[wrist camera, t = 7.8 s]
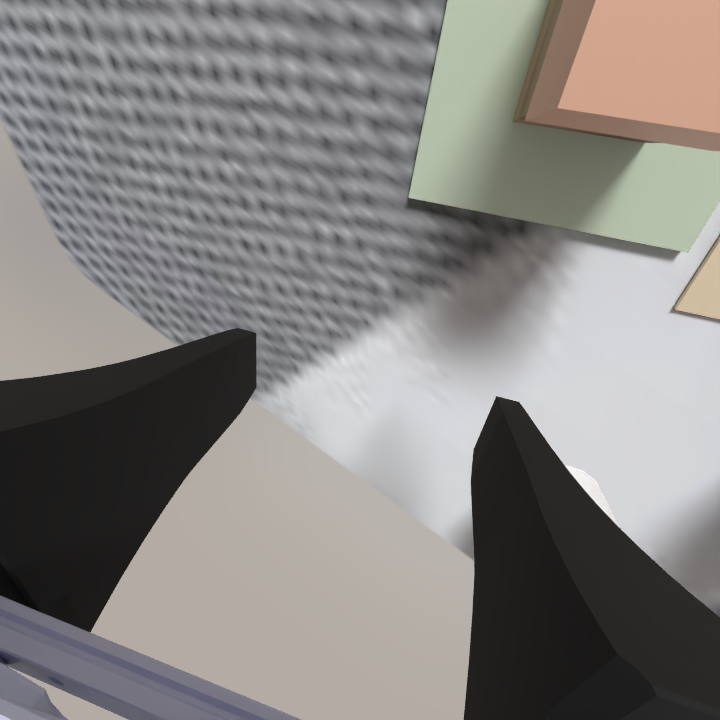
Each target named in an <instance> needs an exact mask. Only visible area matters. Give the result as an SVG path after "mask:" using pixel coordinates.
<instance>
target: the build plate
mask: <svg viewBox="0 0 720 720" xmlns="http://www.w3.org/2000/svg"><path fill="white" fill-rule="evenodd" d="M548 3H549V0H448V1H447V6H446V12H445V17H444V22H443V27H442V32H441V37H440V42H439V47H438V52H437V57H436V62H435V67H434V72H433V77H432V82H431V87H430V92H429V97H428V102H427V107H426V112H425V117H424V122H423V127H422V132H421V137H420V142H419V147H418V153H417V158H416V163H415V168H414V173H413V178H412V183H411V188H410V193H409V198H412V199H418V200H423V201H428V202H433V203H438V204H443V205H448V206H453V207H458V208H463V209H468V210H473V211H479V212H484V213H489V214H494V215H499V216H504V217H509V218H514V219H519V220H524V221H529V222H534V223H540V224H545V225H550V226H555V227H560V228H565V229H570V230H575V231H580V232H585V233H590V234H596V235H601V236H606V237H611V238H616V239H621V240H626V241H631V242H636V243H641V244H646V245H651V246H657V247H662V248H667V249H672V250H677V251H682V252H687V253H688V252H689V251H690V249H691V247H692V246H693V244H694V242H695V241H696V239H697V238H698V236H699V234H700V233H701V231H702V229H703V228H704V226H705V225H706V223H707V221H708V220H709V218H710V216H711V215H712V213H713V212H714V210H715V208H716V207H717V205H718V203H719V202H720V151H709V150H702V149H696V148H690V147H684V146H678V145H672V144H665V143H642V142H636V141H630V140H624V139H618V138H611V137H605V136H599V135H593V134H587V133H580V132H574V131H568V130H562V129H556V128H549V127H543V126H537V125H531V124H525V123H518V122H512V121H513V118H514V114H515V111H516V108H517V105H518V101H519V98H520V95H521V91H522V88H523V85H524V82H525V78H526V75H527V72H528V69H529V65H530V62H531V59H532V55H533V52H534V49H535V46H536V42H537V39H538V36H539V33H540V29H541V26H542V23H543V19H544V16H545V13H546V10H547V6H548Z"/></svg>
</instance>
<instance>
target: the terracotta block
mask: <svg viewBox="0 0 720 720" xmlns="http://www.w3.org/2000/svg"><path fill="white" fill-rule="evenodd" d="M525 121H530V122H536V123H542V124H548V125H555V126H561V127H567V128H573V129H579V130H585V131H592V132H598V133H604V134H610V135H616V136H622V137H628V138H635V139H641V140H647V141H653V142H659V143H665V144H672V145H678V146H684V147H690V148H696V149H702V150H709V151H720V0H563V3H562V6H561V9H560V13H559V16H558V19H557V22H556V25H555V28H554V31H553V34H552V37H551V41H550V44H549V47H548V50H547V53H546V56H545V59H544V62H543V65H542V68H541V72H540V75H539V78H538V81H537V84H536V87H535V90H534V93H533V96H532V100H531V103H530V106H529V109H528V112H527V115H526V118H525Z"/></svg>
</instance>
